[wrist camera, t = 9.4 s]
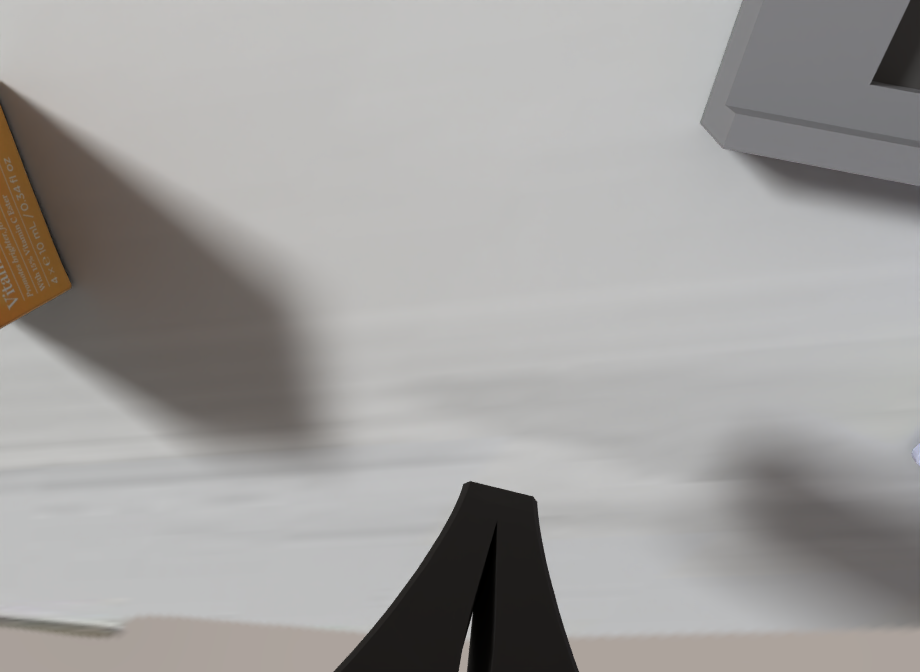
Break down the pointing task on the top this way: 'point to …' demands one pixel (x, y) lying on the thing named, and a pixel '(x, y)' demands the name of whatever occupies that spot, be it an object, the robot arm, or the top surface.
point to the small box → (23, 241)
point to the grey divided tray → (823, 85)
